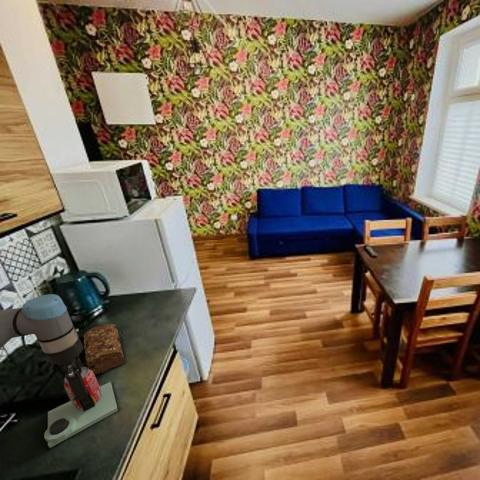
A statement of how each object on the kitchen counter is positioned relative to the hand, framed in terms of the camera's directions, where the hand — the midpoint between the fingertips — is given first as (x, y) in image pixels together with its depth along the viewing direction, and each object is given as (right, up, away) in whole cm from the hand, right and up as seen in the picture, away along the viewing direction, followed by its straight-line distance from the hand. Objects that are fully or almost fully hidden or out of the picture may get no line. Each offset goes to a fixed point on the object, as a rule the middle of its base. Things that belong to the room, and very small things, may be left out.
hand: (88, 399), depth 85 cm
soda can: (0, -1, 0) cm, 1 cm away
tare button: (-2, -4, -8) cm, 9 cm away
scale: (-1, -4, -1) cm, 4 cm away
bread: (-10, +5, +20) cm, 23 cm away
